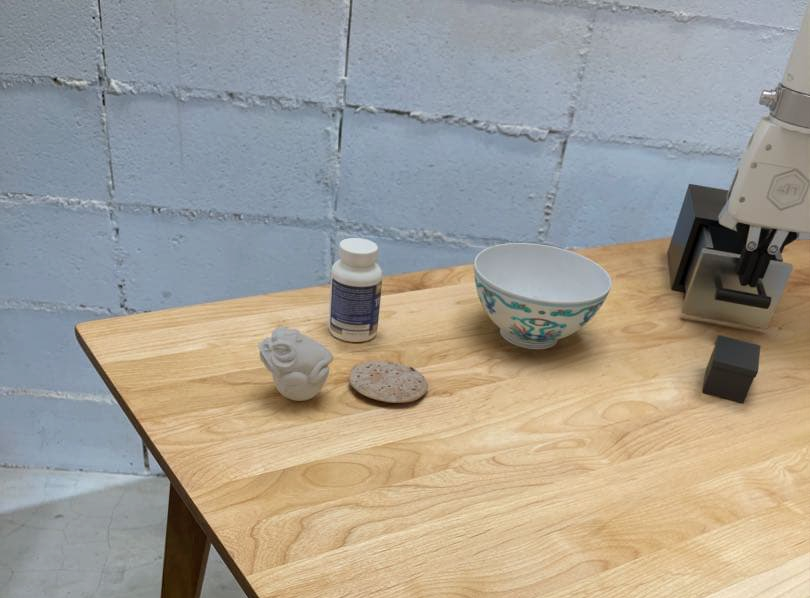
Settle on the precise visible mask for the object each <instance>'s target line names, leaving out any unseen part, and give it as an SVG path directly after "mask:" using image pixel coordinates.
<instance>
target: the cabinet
mask: <svg viewBox="0 0 810 598" xmlns="http://www.w3.org/2000/svg"><path fill="white" fill-rule="evenodd" d="M728 191H729V189H723V188H716V187H711V186H705V185H700V184H693V183H688V186H687V189H686V193H685V195H684V199H683V202H682V205H681V208H680V210H679V214H678V218H677V221H676V224H675V227H674V230H673V233H672V236H671V239H670V243H669V246H668V249H667V262H668V270H669V271H668V272H669V279H670V280H669V281H670V289H671V290H672V291H676V292H682V293H686V291H685V284H684V277H683V272H684V269H685V266H686V263H687V260H688V257H689V254H690V251H691V248H692V245H693V242H694V239H695V236H696V233H697V230H698V227H699V224H702V225H708V226H714V227H720V228H725V229H729V228H727V227H725V226H723V225H721V224H720V223H719V220H718V216H719V214H720V212H721V211H722V209H723V207H724V206H725V204H726V199H727V194H728ZM770 229H771V228H767V227H761V232H760V235H766V236H767V234H768V233H769V231H770ZM731 230H732V229H731ZM785 247H786V246H784V247H783V248H781V249H779V250H780V252H781V255H782V254H783V251H784V249H785Z"/></svg>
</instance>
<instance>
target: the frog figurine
mask: <svg viewBox="0 0 810 598" xmlns="http://www.w3.org/2000/svg"><path fill="white" fill-rule="evenodd" d="M257 347H258V349H259V358H260V361H261V363H263V365H264V367H265V368H266V370H267V371H269V372H271V375H272V380H273V384H274V386H275V388H276V390H277V391H278V392H279V393H280V394H281V395H282V396H283V397H285V398H286V399H289V400H291V401H295V402H304V401H308V400H311V399H313V398H315V397H316V396H317V395H318V394H319V393H320V392H321V390H322V389H323V387H324V385H325V384H326V383H327V381H328V377H329V374H330V367H329V365H330V364H331V363H332V362H333V361H334V356H333V354H332V352H331V350H329V349H328V348H327V347H326V346H324V345H323V344H322V343H321V342H319V341H318V340H315V339H314V338H311V337H309V336H307V335H305V334H303V333H301V331H300V330H298V329H296V328H294V329H293V328H287V327H286V326H283V325H282V326H277V327H276V328H274V329H273V330H272V332H271V337H270V336H266V337H265V338H264V339H263V340H261V341H259V342H258V345H257Z"/></svg>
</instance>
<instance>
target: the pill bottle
mask: <svg viewBox="0 0 810 598" xmlns="http://www.w3.org/2000/svg"><path fill="white" fill-rule="evenodd" d="M378 256H379V246H378V245H377V243H376V242H374V241H372V240H370V239H366V238H362V237H350V238H344V239H342V240H341V241H340V242H339V245H338V258H339V259H338V260H336V261H335V262H334V263H333V265H332V267H331V272H330V287H329V288H330V290H329V291H330V293H329V311H328V330H329V333H331V335H332V336H333V337H335V338H336V339H339V340H341V341H345V342H350V343H360V342H367V341H371V340H372V339H373V338H374V337H376V335H377V334H378V327H379V318H380V307H381V299H382V285H383V269H382V268H381V266H380V265H379V264H378V263H377V262H378V258H379V257H378Z"/></svg>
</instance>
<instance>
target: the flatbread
mask: <svg viewBox="0 0 810 598" xmlns="http://www.w3.org/2000/svg"><path fill="white" fill-rule="evenodd" d="M348 382H349V385H350V386H351V387H352V388H353V389H354V390H355V391H356V392H357V393H359V394H361V395H362V396H365V397H366V398H369V399H373V400H376V401H379V402H384V403H392V404H404V403H411V402H415V401H417V400H419V399H420V398H422V397H423V396H424V395H425V394H426V393H427V391H428V388H429V383H428V381H427V379H426V378H425V376H424V375H423V374H422V372H420V371H418V370H417V369H415V368H414V367H412V366H409V365H405V364H400V363H395V362H390V361H382V360H381V361H378V360H372V361H369V362H365V363H359V364H355V365H354V366H353V367H352V370H351V373H350V375H349V379H348Z"/></svg>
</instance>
